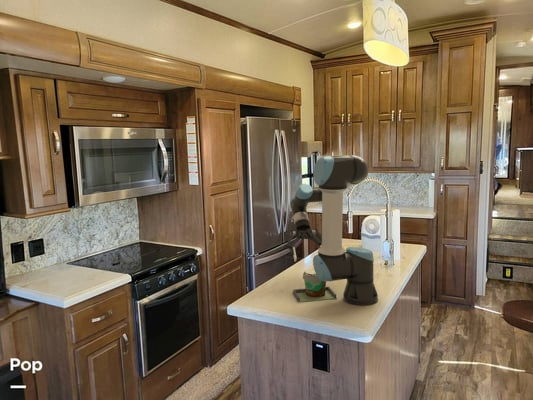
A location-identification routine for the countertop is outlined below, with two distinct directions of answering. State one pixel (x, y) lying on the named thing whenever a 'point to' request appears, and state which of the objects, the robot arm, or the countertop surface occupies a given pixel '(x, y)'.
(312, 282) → the food container
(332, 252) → the robot arm
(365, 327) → the countertop surface
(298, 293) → the green tray
